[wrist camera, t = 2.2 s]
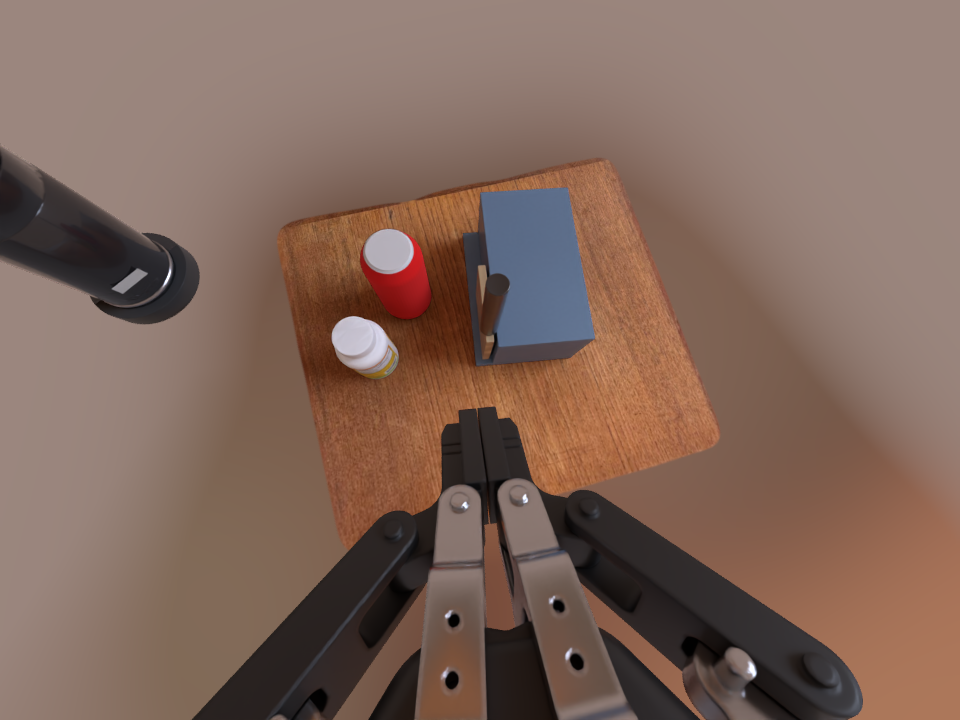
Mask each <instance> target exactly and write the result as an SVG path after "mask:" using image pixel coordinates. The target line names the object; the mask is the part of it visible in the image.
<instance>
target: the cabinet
mask: <svg viewBox="0 0 960 720" xmlns="http://www.w3.org/2000/svg"><path fill="white" fill-rule="evenodd" d="M463 243H464V252H465V262H466V272H467V282H468V292H469V302H470V312H471V322H472V331H473V341H474V351H475V361H476V366H486V365H497V364H508V363H519V362H530V361H541V360H552V359H563V358H570V357H572V356H573V355H574V354H575V353H577V352H578V351H579V350H581V349H582V348H583V347H585V346H586V345H587V344H588V343H590V342H591V341H593V340H594V339H595V336H594V330H593V325H592V319H591V314H590V308H589V303H588V297H587V292H586V286H585V281H584V275H583V270H582V264H581V259H580V253H579V248H578V242H577V237H576V231H575V226H574V220H573V215H572V209H571V204H570V198H569V193H568V188H550V189H533V190H516V191H499V192H482V193H480V207H479V223H478V232H475V233H463ZM480 265H485V266H486V274H487V278H488V277H489V276H490V275H492V274H495V273H501V274H503V275H505V276H506V277H507V278H508V279H509V281H510V289H509V293H508V296H507V299H506V303H505V306H504V310H503V313H502V316H501V320H500V323H499V326H498V330H497V332H496V333H495V334H494V344H493V347H492V350H491V354H490V357H489V359H484V360H483V359H482V350H481V340H480V331H479V322H478V312H477V303H476V286H477V272H478V266H480Z"/></svg>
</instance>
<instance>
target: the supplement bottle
mask: <svg viewBox="0 0 960 720" xmlns="http://www.w3.org/2000/svg"><path fill="white" fill-rule="evenodd" d="M332 343H333V345H334V347H335V352H336V354H337V357H338V358H339V360H340V361H341V362H342V363H343V364H345V365H346V366H348V367H349V368H351V369H353V370H354V371H356V372H358V373H359V374H361V375H363V376H365V377H367V378H370V379H380V378H384V377H386V376H388V375H389V374H391V373H392V372H393V371H394V369H395V368H396V366H397V363H398V359H399V355H398V350H397V348H396V346H395V345H394V343H393V342H392V341H391V339H390V338H389V337H388V335H387V334H386V333H385V331H384V330H383V329H382V328H381V327H380V326H379V325H378V324H376V323H375V322H373V321H370V320H366V319H363V318H361V317H356V316H352V317H347V318H344V319H342V320H341V321H339V322H338V323H337V324H336V326H335V327H334V329H333V332H332Z"/></svg>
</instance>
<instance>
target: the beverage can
mask: <svg viewBox="0 0 960 720" xmlns="http://www.w3.org/2000/svg"><path fill="white" fill-rule="evenodd" d="M360 264H361V268H362V270H363V273H364V274H365V276H366V278H367V279H368V281H369V282H370V284H371V286H372V287H373V289H374V291H375V292H376V294H377V296H378V297H379V299H380V300H381V302H382V304H383V305H384V307H385V309H386V310H387V311H388V312H389V313H390V314H391V315H393V316H395V317H397V318H401V319H412V318H415V317H418V316H420V315H421V314H423V313H424V312H425V311H426V310H427V308H428V307H429V305H430V302H431V290H430V285H429V281H428V276H427V272H426V268H425V263H424V259H423V255H422V251H421V249H420V247H419V245H418V244H417V242H416V241H415V240H414V239H413V238H412V237H411V236H409V235H408V234H406V233H404V232H401V231H398V230H395V229H383V230H379V231H377V232H375V233H373V234H372V235H371V236H370V237H369V238H368V239H367V240H366V242H365V243H364V245H363V247H362V250H361V254H360Z"/></svg>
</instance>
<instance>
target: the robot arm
mask: <svg viewBox="0 0 960 720" xmlns="http://www.w3.org/2000/svg"><path fill="white" fill-rule="evenodd" d="M0 262H3V263H6V264H9V265H11V266H14V267H16V268H19V269H22V270H24V271H27V272H29V273H32V274H35V275H37V276H40V277H42V278H45V279H48V280H50V281H53V282H56V283H58V284H61V285H63V286H66V287H69V288H71V289H74V290H77V291H79V292H82V293H84V294H87V295H90V296H92V297H95V298H98V299H100V300H103V301H104V302H106V303H108V304H111V305H113V306H116V307H119V308H125V309H134V308H140V307H144V306H146V305H149V304H151V303H153V302H155V301H156V300H158V299H159V298H160V297H162V296H163V295H164V294H165V293H166V292H167V290H168V289H169V288H170V286H171V284H172V282H173V280H174V277H175V272H176V265H175V261H174V258H173V256H172V254H171V253H170V252H169V251H168V250H167V249H166V248H165V247H163V246H162V245H160V244H159V243H157V242H155V241H153V240H151V239H149V238H148V237H146V236H144V235H143V234H141V233H140V232H138V231H137V230H135V229H134V228H132V227H130V226H129V225H127V224H126V223H124V222H123V221H121V220H119V219H118V218H116V217H115V216H113V215H112V214H110V213H108V212H107V211H105V210H104V209H102V208H100V207H99V206H97V205H96V204H94V203H93V202H91V201H89V200H88V199H86V198H85V197H83V196H81V195H80V194H78V193H77V192H75V191H74V190H72V189H70V188H69V187H67V186H66V185H64V184H63V183H61V182H59V181H58V180H56V179H55V178H53V177H52V176H50V175H48V174H47V173H45V172H44V171H42V170H41V169H39V168H37V167H36V166H34V165H32V164H31V163H29V162H28V161H26V160H24V159H23V158H21V157H20V156H18V155H16V154H15V153H13V152H12V151H10V150H9V149H7V148H5V147H4V146H2V145H0ZM441 442H442V491H441V494H440V496H439V498H438V500H437V501H436V502H435V503H434V504H433V505H432V506H431V507H430V508H428V509H426V510H424V511H422V512H420V513H417V514H415V515H413V516H412V515H410V514H409V513H407V512H405V511H392V512H389V513H387V514H385V515H383V516H382V517H380V518H379V519H378V520H377V521H376V522H375V523H374V524H373V526H372V527H371V528H370V529H369V530H368V531H367V532H366V533H365V534H364V535H363V536H362V537H361V538H360V540H359V541H358V542H357V543H356V544H355V545H354V546H353V547H352V548H351V549H350V550H349V551H348V552H347V553H346V555H345V556H344V557H343V558H342V559H341V560H340V561H339V562H338V563H337V564H336V565H335V566H334V568H333V569H332V570H331V571H330V572H329V573H328V574H327V575H326V576H325V577H324V578H323V580H321V581H320V583H319V584H318V585H317V586H316V587H315V588H314V589H313V590H312V591H311V592H310V593H309V594H308V596H306V598H305V599H304V600H303V601H302V602H301V603H300V604H299V605H298V606H297V607H296V608H295V609H294V610H293V612H292V613H291V614H290V615H289V616H288V617H287V618H286V619H285V620H284V621H283V622H282V623H281V624H280V626H279V627H278V628H277V629H276V630H275V631H274V632H273V633H272V634H271V635H270V636H269V637H268V638H267V640H266V641H265V642H264V643H263V644H262V645H261V646H260V647H259V648H258V649H257V650H256V651H255V652H254V653H253V655H252V656H251V657H250V658H249V659H248V660H247V661H246V662H245V663H244V664H243V665H242V666H241V668H239V670H238V671H237V672H236V673H235V674H234V675H233V676H232V677H231V678H230V679H229V680H228V681H227V683H226V684H225V685H224V686H223V687H222V688H221V689H220V690H219V691H218V692H217V693H216V694H215V696H213V697H212V699H211V700H210V701H209V702H208V703H207V704H206V705H205V706H204V707H203V708H202V709H201V711H200V712H199V713H198V714H197V715H196V716H195V717H194V718H193V719H192V720H332V719H333V718H334V717H335V715H336V714H337V712H338V711H339V709H340V708H341V706H342V705H343V704H344V702H345V701H346V699H347V698H348V696H349V695H350V694H351V692H352V691H353V689H354V688H355V686H356V685H357V683H358V682H359V680H360V679H361V678H362V676H363V675H364V673H365V672H366V670H367V669H368V667H369V666H370V665H371V663H372V662H373V660H374V659H375V657H376V656H377V655H378V653H379V652H380V650H381V649H382V647H383V646H384V644H385V643H386V642H387V640H388V639H389V637H390V636H391V634H392V633H393V631H394V630H395V629H396V627H397V626H398V624H399V623H400V621H401V620H402V618H403V617H404V616H405V614H406V613H407V611H408V610H409V608H410V607H411V605H412V604H413V603H414V601H415V600H416V598H417V597H418V595H419V594H420V592H421V591H422V589H423V588H424V586H425V584H426V583H427V582H428V583H427V593H426V604H425V614H424V625H423V635H422V645H421V648H420V649H419V650H417V651H416V652H415V653H414V654H413V655H412V656H410V658H409V659H408V660H407V661H406V662H405V663H404V664H403V665H402V666H401V668H400V669H399V670H398V672H397V673H396V674H395V676H394V678H393V679H392V681H391V682H390V684H389V686H388V687H387V689H386V691H385V693H384V694H383V696H382V698H381V699H380V701H379V702H378V704H377V706H376V708H375V709H374V711H373V713H372V714H371V716H370V718H369V720H700V719H699V718H698V717H697V716H696V715H695V714H694V713H693V712H692V711H691V710H690V709H689V708H688V707H687V706H686V705H685V704H684V703H683V702H682V701H680V699H679V698H678V697H677V696H676V695H675V694H673V692H671V691H670V690H669V689H668V688H667V687H666V686H665V685H664V684H663V683H662V682H661V681H660V680H659V679H658V678H657V677H656V676H655V675H654V674H653V673H652V672H651V671H650V670H649V669H648V668H647V667H646V666H645V665H644V664H643V663H642V662H641V661H640V660H638V658H637V657H636V656H634V654H633V653H632V652H631V651H630V650H628V649H627V648H626V647H625V646H624V645H623V644H622V643H621V642H620V641H619V640H617V639H616V638H615V637H614V636H612V635H611V634H609V633H608V632H606V631H605V630H603V629H601V628H599V627H597V624H596V622H595V619H594V617H593V614H592V612H591V609H590V607H589V604H588V602H587V599H586V596H585V594H584V591H583V589H582V586H581V584H580V582H581V583H582V584H583V585H584V586H585V587H586V588H587V589H589V590H590V591H591V592H592V593H593V594H594V595H595V596H597V597H598V598H599V599H600V600H601V601H602V602H603V603H605V604H606V605H607V606H608V607H609V608H610V609H611V610H613V611H614V612H615V613H616V614H617V615H618V616H619V617H621V618H622V619H623V620H624V621H625V622H626V623H627V624H628V625H630V626H631V627H632V628H633V629H634V630H636V632H638V633H639V634H640V635H641V636H642V637H643V638H644V639H646V640H647V641H648V642H649V643H650V644H651V645H652V646H654V647H655V648H656V649H657V650H658V651H659V652H660V653H662V654H663V655H664V656H665V657H666V658H667V659H669V660H670V661H671V662H672V663H673V664H674V665H675V666H676V667H678V668H679V669H680V670H681V671H682V677H683V683H684V687H685V690H686V693H687V695H688V697H689V699H690V700H691V702H692V704H693V705H694V707H695V708H696V709H697V711H699V713H700V714H701V715H702V716H703V717H704V718H705V719H706V720H848V719H850V718H852V717H854V716H856V715H858V713H859V712H860V711H861V709H862V705H863V698H862V693H861V690H860V687H859V685H858V682H857V681H856V679H855V677H854V675H853V674H852V672H851V671H850V670H849V668H848V667H847V666H846V665H845V663H844V662H843V661H842V660H841V659H840V658H839V657H838V656H837V655H836V654H835V653H834V652H833V651H832V650H830V649H829V648H828V647H827V646H825V645H824V644H822V643H821V642H819V641H818V640H816V639H815V638H813V637H812V636H810V635H809V634H807V633H806V632H804V631H803V630H801V629H800V628H798V627H797V626H795V625H794V624H792V623H791V622H789V621H788V620H786V619H785V618H783V617H782V616H780V615H779V614H777V613H776V612H774V611H773V610H771V609H770V608H768V607H767V606H765V605H764V604H762V603H761V602H759V601H758V600H756V599H755V598H753V597H752V596H750V595H749V594H747V593H746V592H744V591H743V590H741V589H740V588H738V587H737V586H735V585H734V584H732V583H731V582H730V581H728V580H727V579H725V578H724V577H722V576H720V575H719V574H718V573H716V572H715V571H713V570H712V569H710V568H709V567H707V566H706V565H704V564H702V563H701V562H699V561H698V560H696V559H695V558H694V557H692V556H691V555H689V554H688V553H686V552H684V551H683V550H681V549H680V548H679V547H677V546H676V545H674V544H672V543H671V542H669V541H668V540H667V539H665V538H664V537H662V536H661V535H659V534H658V533H656V532H655V531H653V530H652V529H650V528H649V527H647V526H646V525H644V524H642V523H641V522H640V521H638V520H637V519H635V518H633V517H632V516H631V515H629V514H628V513H626V512H624V511H623V510H622V509H620V508H619V507H617V506H616V505H614V504H612V503H611V502H609V501H608V500H606V499H605V498H603V497H602V496H600V495H599V494H597V493H595V492H592V491H589V490H579V491H575V492H573V493H572V494H571V495H570V496H569V497H568V498H565V497H560V496H554V495H550V494H548V493H545V492H543V491H542V490H540V489H539V488H538V487H537V486H536V485H535V484H534V482H533V481H532V478H531V475H530V471H529V468H528V464H527V461H526V457H525V453H524V450H523V447H522V443H521V439H520V435H519V432H518V428H517V426H516V425H515V424H514V422H513V421H512V420H511V419H510V418H504V419H498V416H497V412H496V407H485V408H478V418H477V411H476V409H465V410H459V423H455V424H447V425H446V426H445V428H444V430H443V432H442V434H441ZM487 502H488V503H487ZM488 509H489V517H490V523H491V524H492V523H497V529H498V536H499V548H500V553H501V557H502V562H503V566H504V570H505V575H506V579H507V583H508V588H509V593H510V597H511V602H512V607H513V615H514V621H515V628H513V629H511V630H507V631H503V630H498V629H492V628H487V618H486V593H485V566H484V565H485V564H484V546H485V528H484V525H485V524H489V523H488Z"/></svg>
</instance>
